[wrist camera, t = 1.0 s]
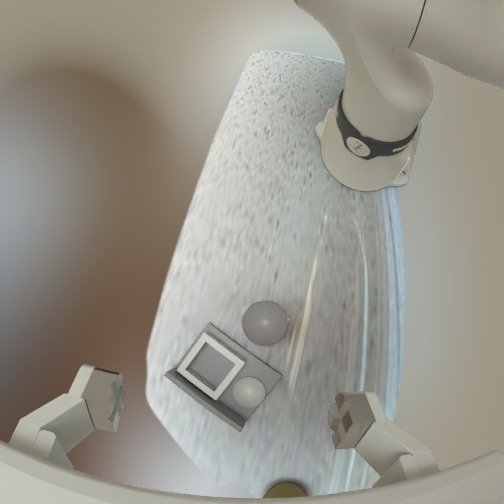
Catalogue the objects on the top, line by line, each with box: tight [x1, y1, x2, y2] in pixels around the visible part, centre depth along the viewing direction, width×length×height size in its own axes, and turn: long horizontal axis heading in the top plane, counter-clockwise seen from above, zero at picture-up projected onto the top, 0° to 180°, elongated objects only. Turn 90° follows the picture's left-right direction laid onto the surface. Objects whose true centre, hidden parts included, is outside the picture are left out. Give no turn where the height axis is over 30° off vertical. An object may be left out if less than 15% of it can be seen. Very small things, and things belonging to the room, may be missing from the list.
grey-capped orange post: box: [242, 300, 289, 347], centre depth 42 cm, size 5×5×13 cm
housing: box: [165, 323, 282, 432], centre depth 45 cm, size 10×14×5 cm
